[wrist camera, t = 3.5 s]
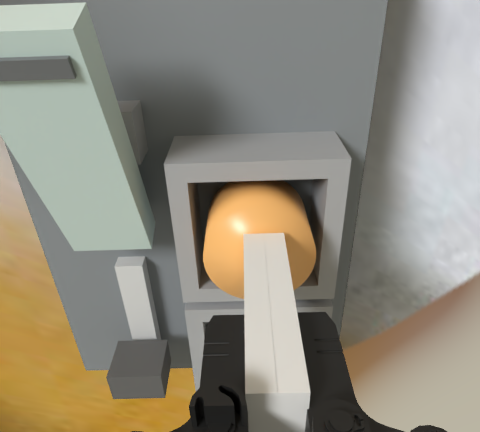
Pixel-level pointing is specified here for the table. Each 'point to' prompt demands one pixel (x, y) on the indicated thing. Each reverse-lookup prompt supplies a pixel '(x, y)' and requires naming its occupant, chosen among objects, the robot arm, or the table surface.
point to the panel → (219, 154)
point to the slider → (139, 369)
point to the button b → (255, 230)
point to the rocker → (70, 127)
